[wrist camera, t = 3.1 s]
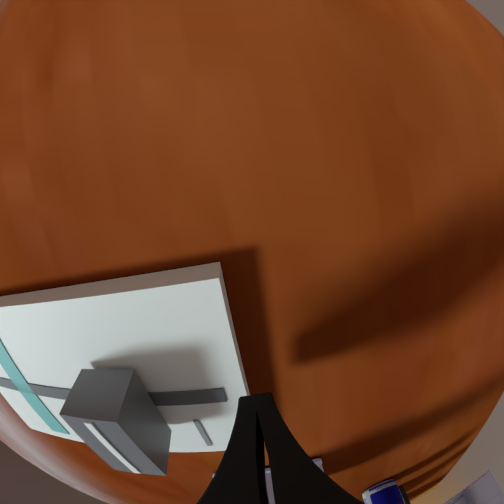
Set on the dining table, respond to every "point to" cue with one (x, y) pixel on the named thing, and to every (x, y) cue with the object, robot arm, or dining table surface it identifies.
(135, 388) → the fader knob
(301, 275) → the dining table surface
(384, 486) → the beverage can
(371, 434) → the dining table surface
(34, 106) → the dining table surface
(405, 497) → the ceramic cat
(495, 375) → the dining table surface
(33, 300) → the slider panel
